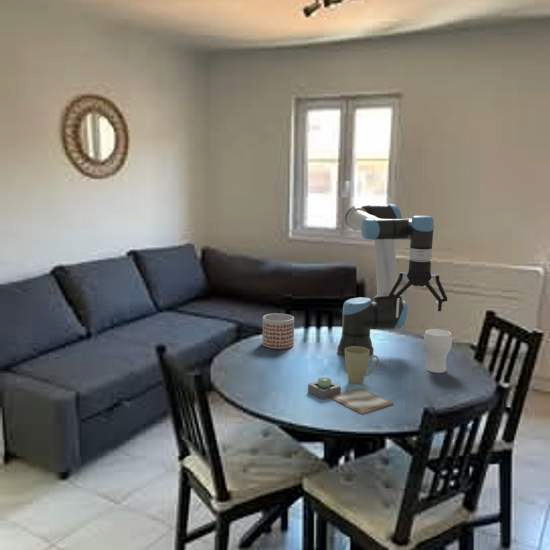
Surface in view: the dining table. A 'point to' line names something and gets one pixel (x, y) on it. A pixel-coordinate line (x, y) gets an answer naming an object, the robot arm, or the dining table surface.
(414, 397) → the dining table surface
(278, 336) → the planter
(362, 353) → the mug
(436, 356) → the cup
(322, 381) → the button
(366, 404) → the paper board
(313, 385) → the button housing
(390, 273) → the robot arm
